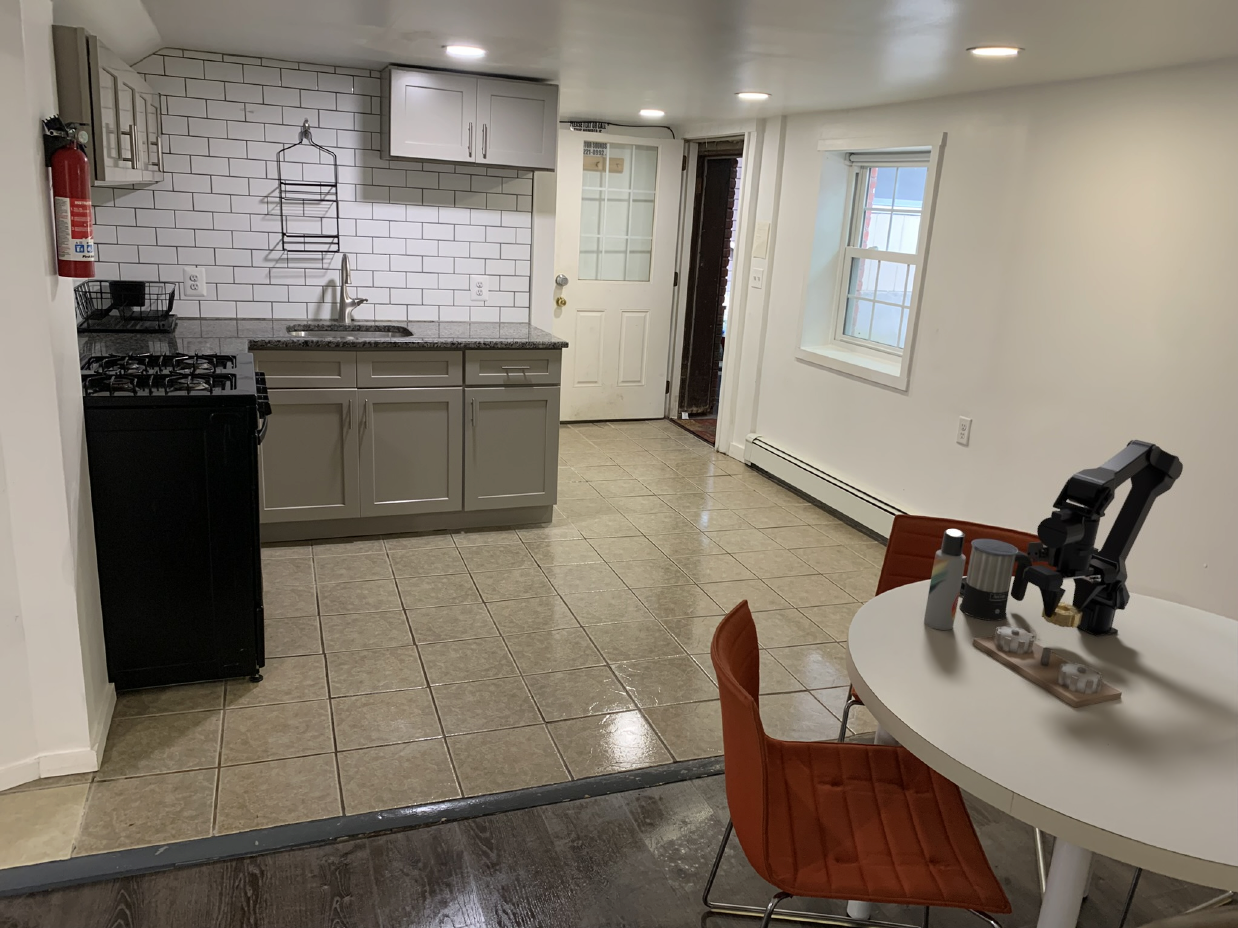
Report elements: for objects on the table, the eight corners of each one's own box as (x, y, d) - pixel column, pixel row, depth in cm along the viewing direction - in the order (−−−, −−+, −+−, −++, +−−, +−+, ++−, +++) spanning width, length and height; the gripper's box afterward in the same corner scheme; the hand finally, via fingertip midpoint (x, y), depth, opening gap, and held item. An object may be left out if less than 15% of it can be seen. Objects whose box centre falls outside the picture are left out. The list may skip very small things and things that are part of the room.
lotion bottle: (954, 622, 187) (971, 530, 182) (951, 633, 182) (969, 538, 177) (925, 615, 189) (941, 524, 184) (921, 626, 184) (938, 532, 179)
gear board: (972, 644, 178) (976, 624, 177) (1015, 637, 182) (1019, 618, 181) (1074, 707, 157) (1080, 685, 156) (1120, 698, 161) (1125, 676, 160)
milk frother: (986, 624, 187) (999, 556, 183) (924, 595, 200) (936, 530, 196) (1029, 613, 195) (1043, 547, 191) (967, 585, 207) (979, 523, 203)
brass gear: (1059, 610, 184) (1061, 599, 183) (1087, 625, 178) (1090, 613, 177) (1033, 614, 181) (1036, 602, 181) (1061, 629, 175) (1064, 617, 175)
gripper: (1078, 522, 186) (1062, 593, 190) (1009, 528, 179) (994, 602, 183) (1126, 541, 176) (1108, 616, 180) (1055, 549, 169) (1038, 627, 173)
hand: (1061, 614), depth 179 cm, fingers closed on brass gear, 7 cm apart
